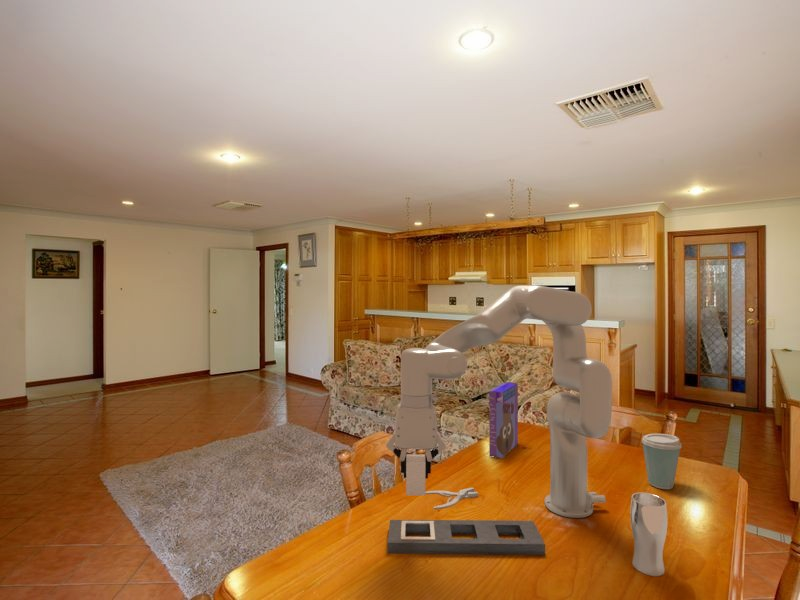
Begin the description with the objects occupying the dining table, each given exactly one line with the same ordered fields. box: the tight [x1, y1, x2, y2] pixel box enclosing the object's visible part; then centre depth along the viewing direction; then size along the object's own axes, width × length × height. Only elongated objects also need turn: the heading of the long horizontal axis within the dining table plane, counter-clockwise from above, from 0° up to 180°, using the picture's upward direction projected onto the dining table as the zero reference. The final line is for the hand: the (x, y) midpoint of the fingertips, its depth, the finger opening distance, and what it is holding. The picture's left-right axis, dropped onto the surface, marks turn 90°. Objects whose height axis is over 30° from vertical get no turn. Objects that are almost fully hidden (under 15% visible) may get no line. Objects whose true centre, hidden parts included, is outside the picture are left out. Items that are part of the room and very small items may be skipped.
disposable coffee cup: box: [641, 433, 682, 490], centre depth 134 cm, size 11×11×15 cm
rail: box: [387, 519, 546, 556], centre depth 105 cm, size 36×10×3 cm, turn 88°
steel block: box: [405, 453, 426, 496], centre depth 104 cm, size 4×4×8 cm
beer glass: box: [629, 491, 668, 577], centre depth 94 cm, size 7×7×15 cm
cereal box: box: [488, 381, 519, 459], centre depth 163 cm, size 17×5×24 cm, turn 147°
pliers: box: [425, 487, 479, 510], centre depth 127 cm, size 10×2×15 cm
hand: (415, 475), depth 105 cm, fingers closed on steel block, 4 cm apart
